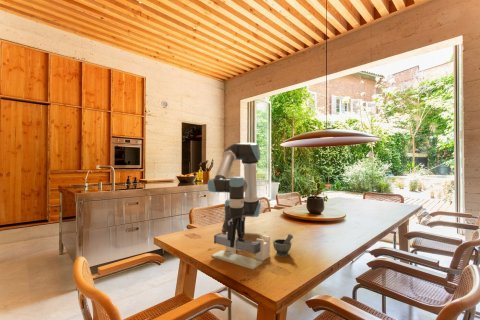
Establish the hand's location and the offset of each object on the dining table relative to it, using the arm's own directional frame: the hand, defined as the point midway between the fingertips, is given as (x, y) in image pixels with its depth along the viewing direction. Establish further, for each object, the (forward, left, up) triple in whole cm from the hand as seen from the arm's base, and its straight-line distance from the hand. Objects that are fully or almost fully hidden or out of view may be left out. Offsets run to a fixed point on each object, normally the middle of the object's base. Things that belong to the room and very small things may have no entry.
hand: (236, 251), depth 125 cm
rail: (0, 0, +3) cm, 3 cm away
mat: (0, 0, -4) cm, 4 cm away
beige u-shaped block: (+10, +11, -4) cm, 15 cm away
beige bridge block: (-10, +11, -4) cm, 15 cm away
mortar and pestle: (+17, +21, -4) cm, 27 cm away
